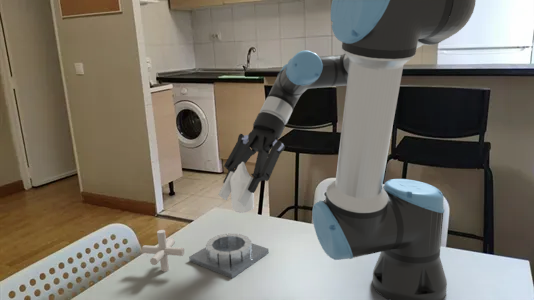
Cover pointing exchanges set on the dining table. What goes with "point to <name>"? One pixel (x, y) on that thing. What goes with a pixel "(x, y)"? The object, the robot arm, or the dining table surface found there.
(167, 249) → the pipe connector
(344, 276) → the dining table surface
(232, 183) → the white faceted pointed piece
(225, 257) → the collar
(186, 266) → the dining table surface
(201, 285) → the dining table surface
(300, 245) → the dining table surface
